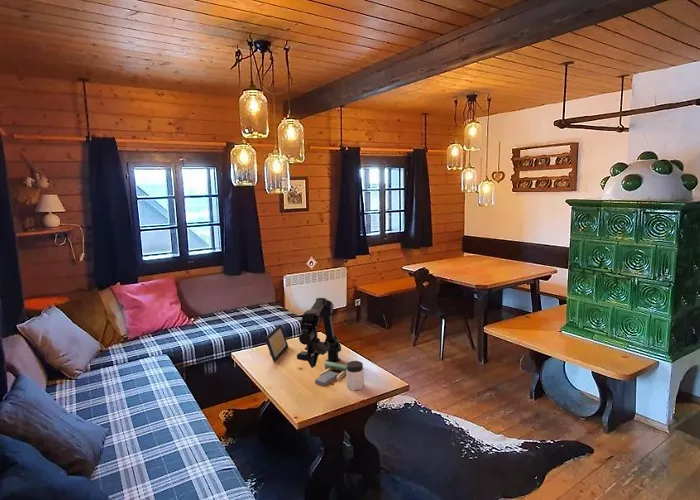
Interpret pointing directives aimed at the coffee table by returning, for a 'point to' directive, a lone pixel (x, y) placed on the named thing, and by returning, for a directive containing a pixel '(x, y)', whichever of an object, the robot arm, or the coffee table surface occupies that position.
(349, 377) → the jar
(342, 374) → the dock
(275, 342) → the picture frame
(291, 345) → the coffee table surface
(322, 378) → the slate tile
